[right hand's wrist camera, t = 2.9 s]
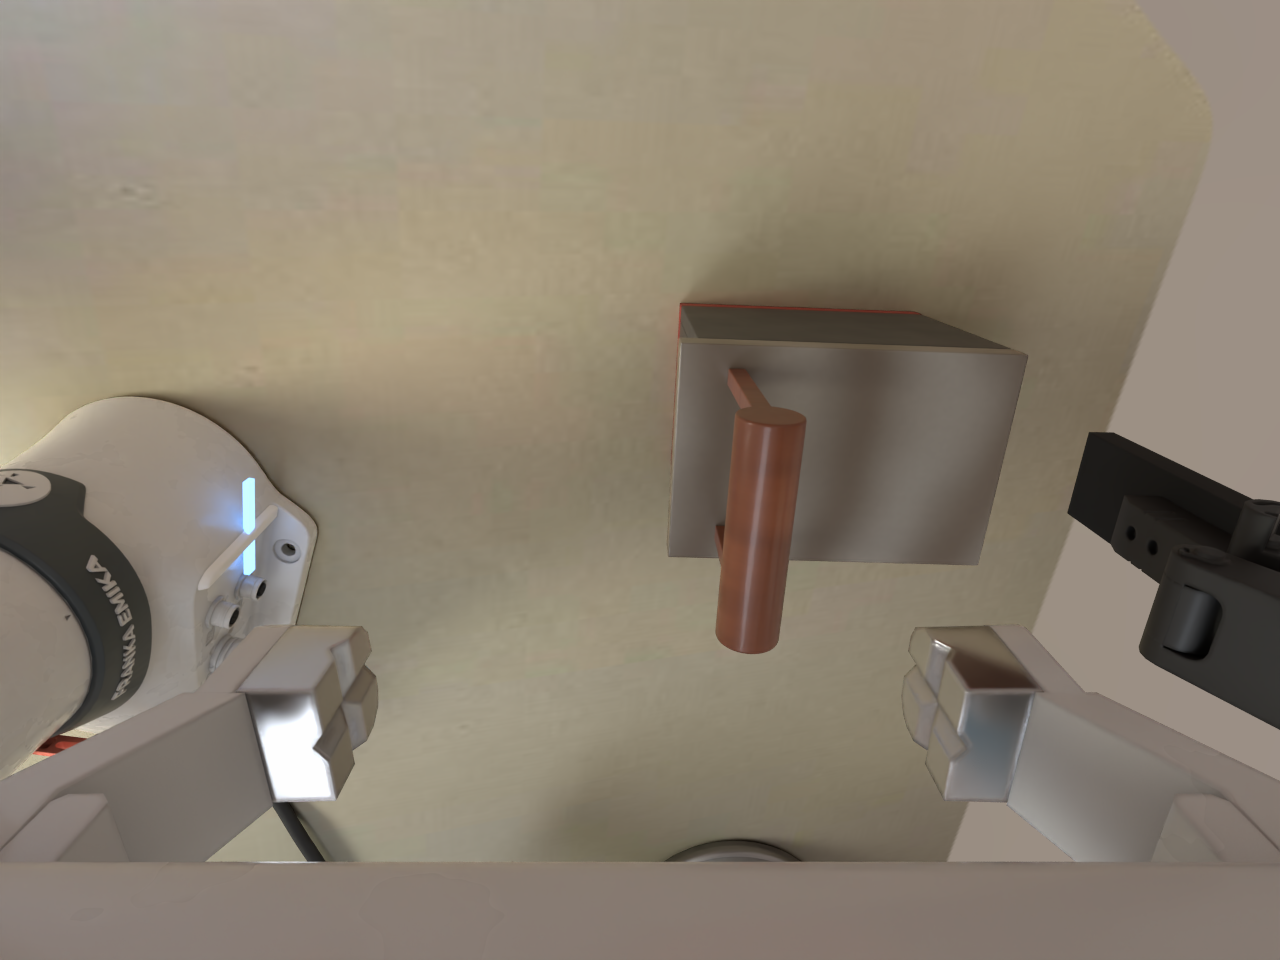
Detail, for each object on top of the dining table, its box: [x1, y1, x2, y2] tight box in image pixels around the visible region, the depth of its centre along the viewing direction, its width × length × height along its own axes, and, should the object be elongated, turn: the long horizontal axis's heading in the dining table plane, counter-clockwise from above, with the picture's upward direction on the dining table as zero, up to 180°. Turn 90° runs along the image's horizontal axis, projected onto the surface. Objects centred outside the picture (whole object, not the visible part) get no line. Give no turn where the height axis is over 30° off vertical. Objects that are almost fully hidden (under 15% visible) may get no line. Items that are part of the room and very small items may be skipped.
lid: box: [667, 338, 1028, 654], centre depth 26 cm, size 14×10×10 cm
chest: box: [671, 303, 1010, 461], centre depth 36 cm, size 13×10×11 cm
